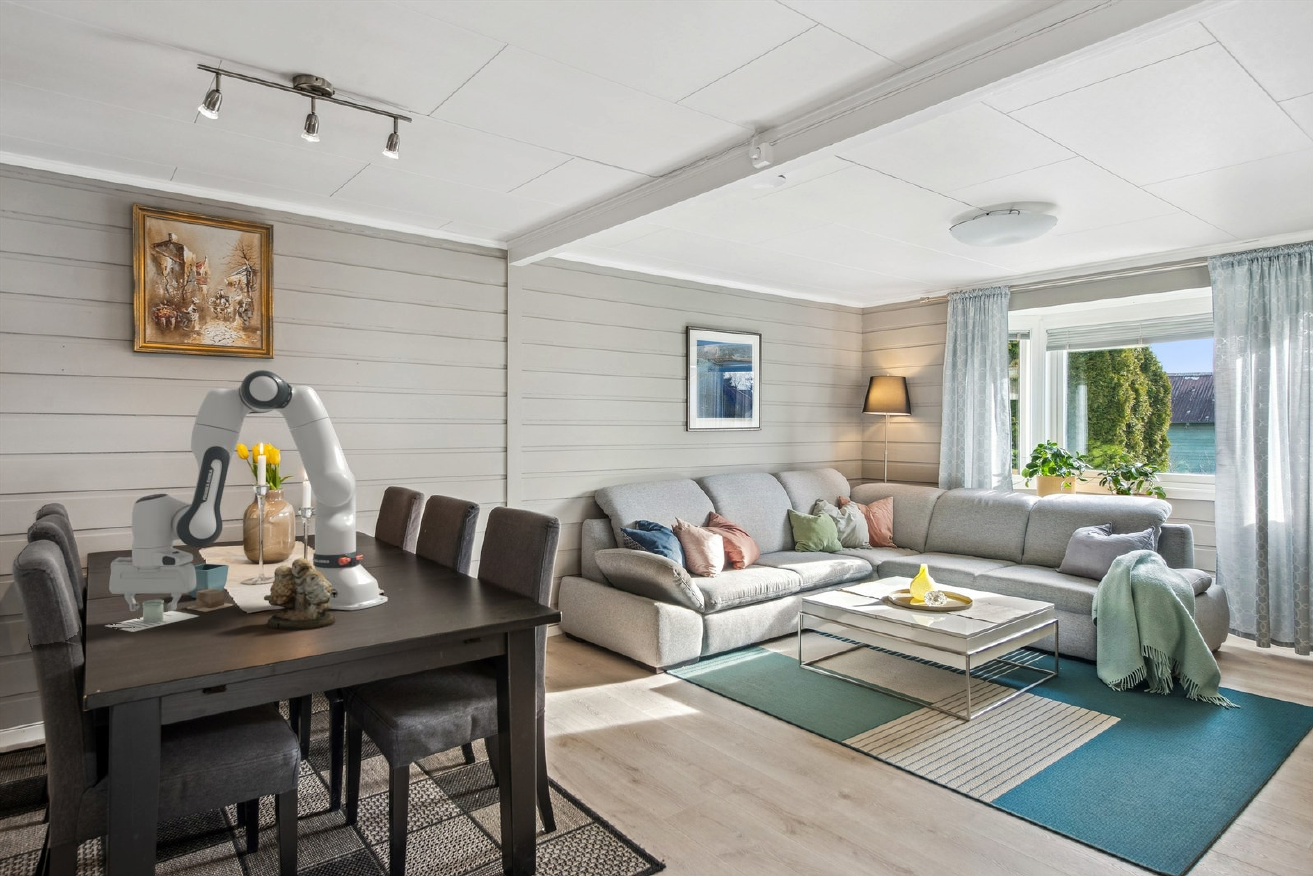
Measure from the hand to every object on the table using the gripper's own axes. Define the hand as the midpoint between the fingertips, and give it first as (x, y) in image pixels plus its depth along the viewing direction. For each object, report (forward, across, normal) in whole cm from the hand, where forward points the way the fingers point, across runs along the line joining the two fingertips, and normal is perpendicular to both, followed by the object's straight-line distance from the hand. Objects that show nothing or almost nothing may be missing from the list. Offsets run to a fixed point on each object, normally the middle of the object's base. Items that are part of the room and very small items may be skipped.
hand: (153, 610), depth 197 cm
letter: (+3, 0, 0) cm, 3 cm away
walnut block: (+2, +7, +14) cm, 16 cm away
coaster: (+3, +7, +14) cm, 16 cm away
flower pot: (+3, -1, +28) cm, 28 cm away
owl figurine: (+3, +38, -3) cm, 39 cm away
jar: (+3, 0, 0) cm, 3 cm away
